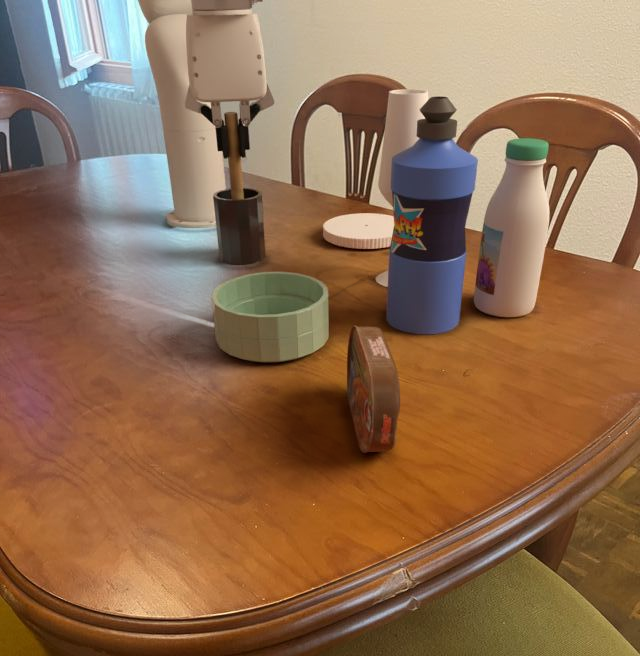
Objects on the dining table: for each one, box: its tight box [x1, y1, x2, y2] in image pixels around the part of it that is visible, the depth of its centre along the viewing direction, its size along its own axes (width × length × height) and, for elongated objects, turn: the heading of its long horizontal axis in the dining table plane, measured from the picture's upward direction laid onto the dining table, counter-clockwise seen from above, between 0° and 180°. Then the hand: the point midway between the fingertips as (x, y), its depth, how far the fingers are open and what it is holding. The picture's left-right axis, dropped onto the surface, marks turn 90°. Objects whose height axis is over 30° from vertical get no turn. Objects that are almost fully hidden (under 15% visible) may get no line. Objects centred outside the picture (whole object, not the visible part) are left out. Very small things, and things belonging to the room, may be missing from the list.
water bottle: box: [386, 95, 479, 335], centre depth 75 cm, size 9×9×25 cm
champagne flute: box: [375, 88, 429, 288], centre depth 87 cm, size 7×7×24 cm
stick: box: [223, 111, 244, 200], centre depth 95 cm, size 2×2×20 cm
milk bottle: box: [473, 137, 551, 318], centre depth 79 cm, size 8×8×20 cm
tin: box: [346, 325, 401, 454], centre depth 60 cm, size 15×3×8 cm, turn 5°
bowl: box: [210, 271, 330, 364], centre depth 76 cm, size 13×13×6 cm
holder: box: [213, 187, 267, 266], centre depth 98 cm, size 7×7×10 cm
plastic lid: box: [322, 212, 394, 250], centre depth 107 cm, size 14×14×2 cm
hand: (234, 155), depth 93 cm, fingers closed on stick, 1 cm apart
